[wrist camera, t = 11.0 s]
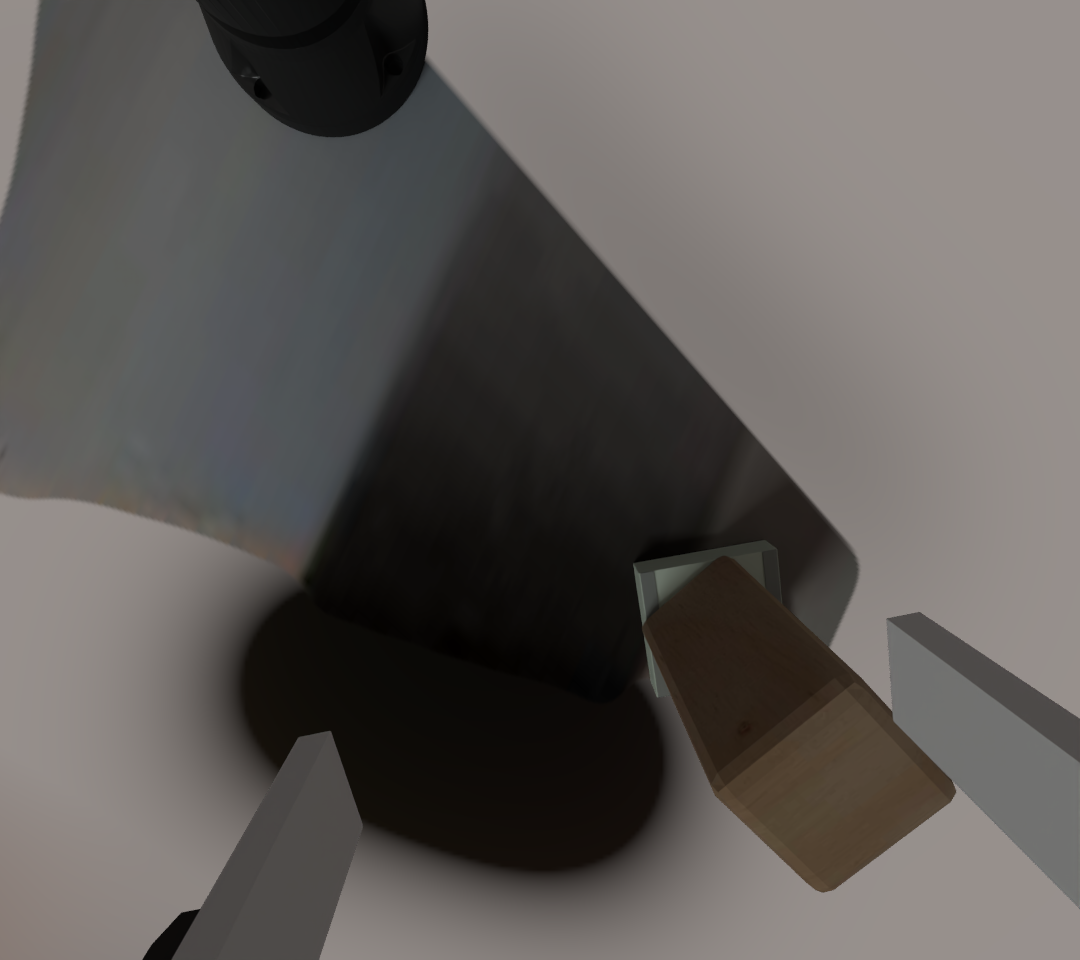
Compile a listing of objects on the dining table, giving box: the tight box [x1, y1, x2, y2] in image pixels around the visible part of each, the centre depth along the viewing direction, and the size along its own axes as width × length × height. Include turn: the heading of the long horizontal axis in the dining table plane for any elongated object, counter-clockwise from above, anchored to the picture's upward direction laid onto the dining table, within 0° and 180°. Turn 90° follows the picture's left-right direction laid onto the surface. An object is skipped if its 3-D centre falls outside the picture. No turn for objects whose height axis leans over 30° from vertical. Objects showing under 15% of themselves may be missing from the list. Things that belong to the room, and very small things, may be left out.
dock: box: [633, 540, 782, 697], centre depth 50 cm, size 12×12×3 cm
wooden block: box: [642, 556, 956, 892], centre depth 39 cm, size 10×10×20 cm
